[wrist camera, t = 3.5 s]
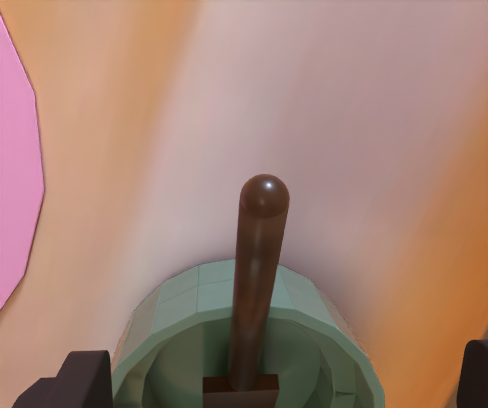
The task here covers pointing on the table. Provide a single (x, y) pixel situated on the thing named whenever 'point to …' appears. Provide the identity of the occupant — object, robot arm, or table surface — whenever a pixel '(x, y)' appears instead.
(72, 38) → the table surface
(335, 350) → the bowl
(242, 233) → the spatula
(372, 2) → the table surface
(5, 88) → the platter
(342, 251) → the table surface
